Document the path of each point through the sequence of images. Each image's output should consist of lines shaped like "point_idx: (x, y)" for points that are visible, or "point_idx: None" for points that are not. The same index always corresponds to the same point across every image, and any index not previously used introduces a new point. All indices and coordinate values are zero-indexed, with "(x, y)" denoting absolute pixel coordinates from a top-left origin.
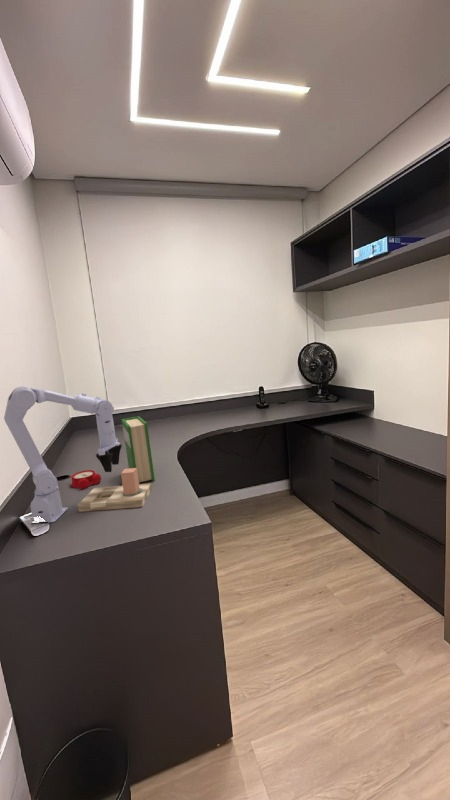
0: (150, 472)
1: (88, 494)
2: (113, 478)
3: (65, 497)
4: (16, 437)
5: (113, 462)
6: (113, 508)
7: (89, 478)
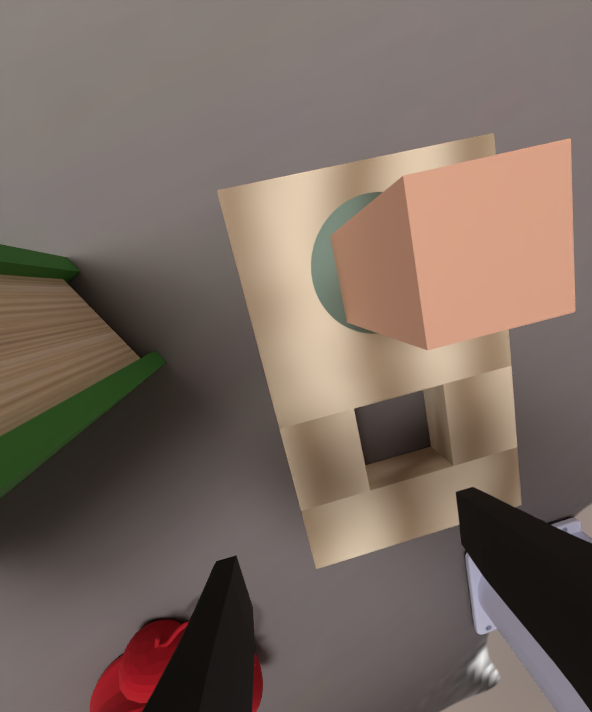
0: (24, 279)
1: (403, 537)
2: (77, 582)
3: (348, 651)
4: None
5: (250, 628)
6: None
7: None
